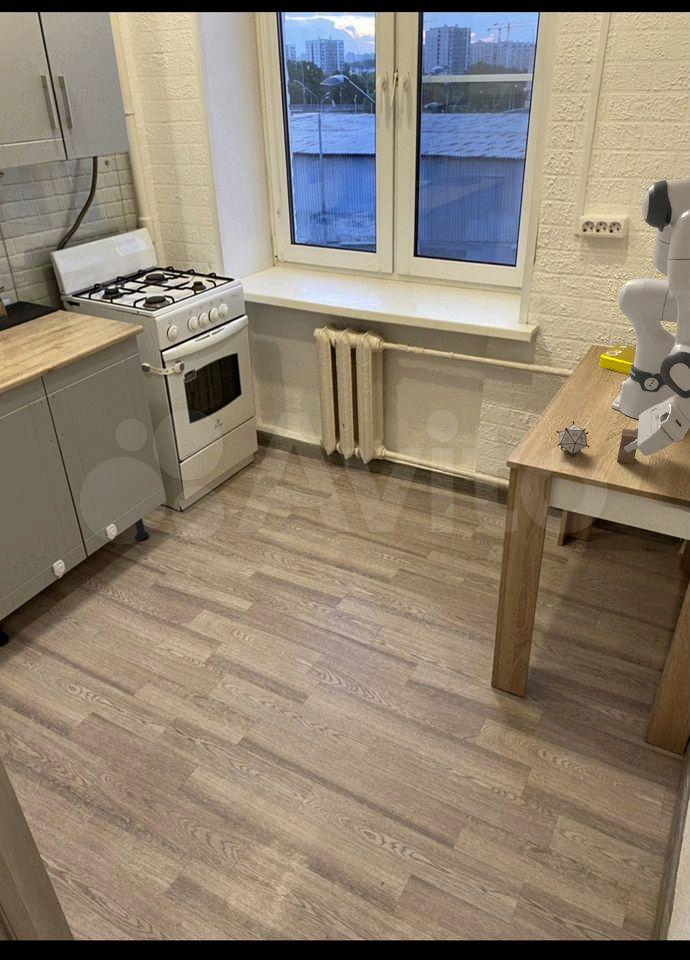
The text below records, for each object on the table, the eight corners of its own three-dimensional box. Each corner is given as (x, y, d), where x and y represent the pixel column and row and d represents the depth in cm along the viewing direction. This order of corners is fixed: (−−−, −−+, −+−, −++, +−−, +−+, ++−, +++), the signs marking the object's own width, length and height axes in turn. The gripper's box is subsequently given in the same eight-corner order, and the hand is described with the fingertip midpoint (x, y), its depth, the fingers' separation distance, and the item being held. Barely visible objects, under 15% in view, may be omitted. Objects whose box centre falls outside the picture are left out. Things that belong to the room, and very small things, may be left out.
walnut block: (617, 455, 190) (623, 428, 186) (633, 457, 189) (639, 430, 185) (617, 462, 187) (622, 435, 183) (633, 464, 186) (638, 437, 181)
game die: (565, 460, 196) (566, 424, 197) (594, 459, 190) (596, 422, 191) (549, 455, 190) (551, 418, 191) (579, 454, 184) (580, 416, 185)
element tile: (638, 378, 235) (640, 364, 233) (596, 367, 245) (598, 354, 242) (657, 365, 244) (660, 352, 242) (616, 355, 254) (618, 342, 251)
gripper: (666, 390, 185) (620, 419, 194) (666, 423, 169) (616, 453, 177) (680, 408, 186) (634, 436, 194) (682, 442, 170) (631, 471, 178)
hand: (625, 444), depth 186 cm, fingers closed on walnut block, 4 cm apart
